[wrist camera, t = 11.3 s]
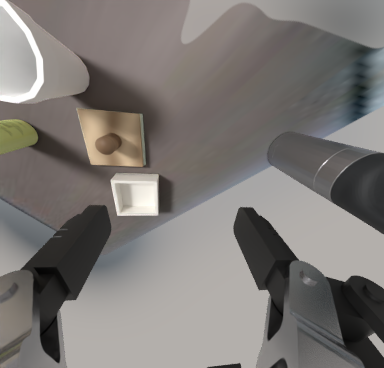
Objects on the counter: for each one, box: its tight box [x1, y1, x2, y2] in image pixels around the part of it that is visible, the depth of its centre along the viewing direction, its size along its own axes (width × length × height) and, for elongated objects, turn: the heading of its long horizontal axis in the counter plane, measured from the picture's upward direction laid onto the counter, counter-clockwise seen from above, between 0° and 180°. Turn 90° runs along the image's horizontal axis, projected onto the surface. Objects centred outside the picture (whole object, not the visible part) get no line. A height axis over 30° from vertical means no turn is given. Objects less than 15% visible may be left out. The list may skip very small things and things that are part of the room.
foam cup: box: [0, 0, 89, 103], centre depth 20 cm, size 10×9×13 cm
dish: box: [111, 173, 159, 216], centre depth 36 cm, size 10×10×4 cm
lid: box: [77, 108, 144, 167], centre depth 28 cm, size 11×11×5 cm
